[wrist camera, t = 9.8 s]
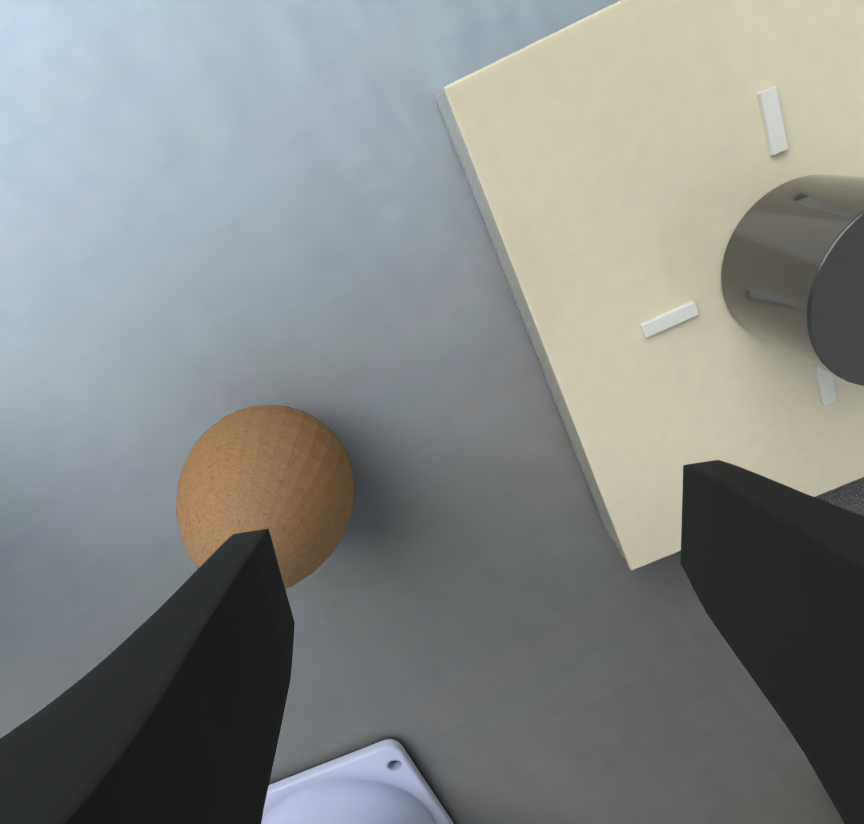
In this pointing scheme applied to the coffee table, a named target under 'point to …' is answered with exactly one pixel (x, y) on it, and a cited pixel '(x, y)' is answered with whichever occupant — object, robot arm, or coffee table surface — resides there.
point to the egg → (267, 487)
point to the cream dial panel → (665, 236)
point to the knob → (803, 272)
